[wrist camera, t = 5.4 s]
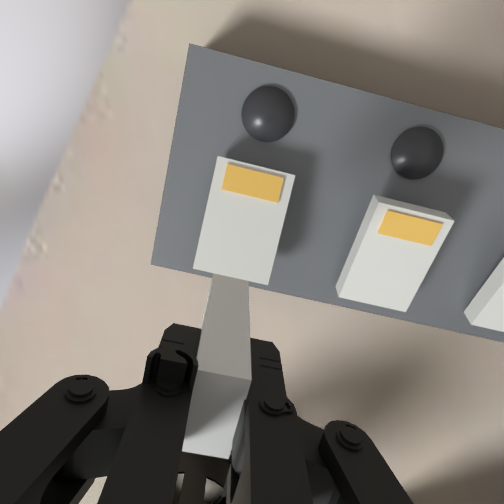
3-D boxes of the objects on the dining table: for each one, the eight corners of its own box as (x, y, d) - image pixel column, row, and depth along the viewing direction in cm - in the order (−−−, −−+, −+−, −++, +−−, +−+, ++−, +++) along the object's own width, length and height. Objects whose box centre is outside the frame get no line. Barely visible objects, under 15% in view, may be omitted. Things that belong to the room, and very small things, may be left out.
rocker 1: (292, 176, 23) (295, 175, 22) (266, 280, 24) (268, 285, 22) (218, 157, 22) (217, 155, 21) (194, 264, 23) (192, 269, 22)
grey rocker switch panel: (600, 162, 27) (653, 169, 23) (515, 327, 31) (550, 353, 27) (197, 53, 24) (189, 42, 21) (162, 247, 28) (150, 265, 25)
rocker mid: (445, 212, 23) (455, 221, 21) (399, 300, 25) (406, 313, 24) (373, 194, 22) (379, 203, 21) (335, 286, 25) (339, 298, 24)
